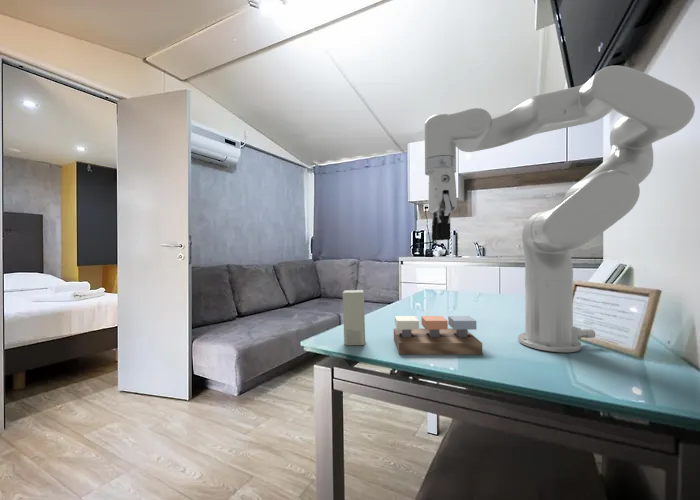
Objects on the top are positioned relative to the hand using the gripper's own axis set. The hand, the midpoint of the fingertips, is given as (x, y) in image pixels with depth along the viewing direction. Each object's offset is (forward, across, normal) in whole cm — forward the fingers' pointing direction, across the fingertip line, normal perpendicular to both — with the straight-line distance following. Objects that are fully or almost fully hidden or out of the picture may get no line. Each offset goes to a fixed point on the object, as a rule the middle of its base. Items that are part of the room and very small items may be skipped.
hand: (440, 239), depth 79 cm
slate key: (+23, -5, -4) cm, 24 cm away
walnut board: (+25, -5, +3) cm, 26 cm away
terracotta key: (+23, -5, +3) cm, 24 cm away
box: (+26, -3, +22) cm, 34 cm away
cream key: (+23, -5, +9) cm, 26 cm away
